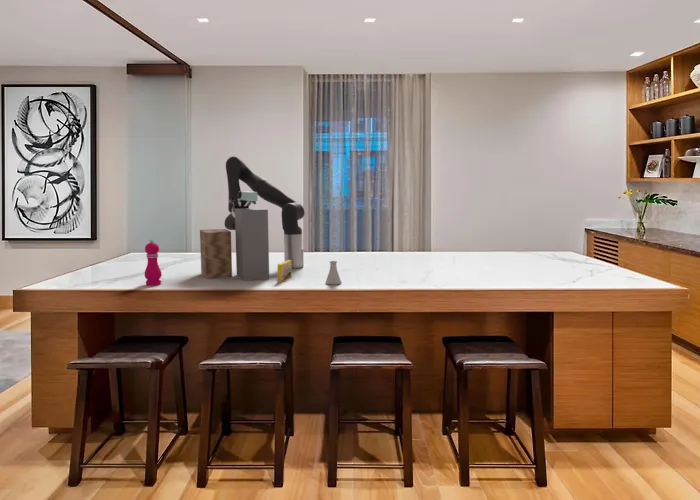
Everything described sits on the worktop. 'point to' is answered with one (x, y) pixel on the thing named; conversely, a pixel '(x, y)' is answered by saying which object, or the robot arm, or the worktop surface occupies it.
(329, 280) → the flask
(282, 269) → the candy box
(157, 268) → the pepper mill
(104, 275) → the worktop surface
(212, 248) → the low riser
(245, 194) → the slim carton
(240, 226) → the tall podium
